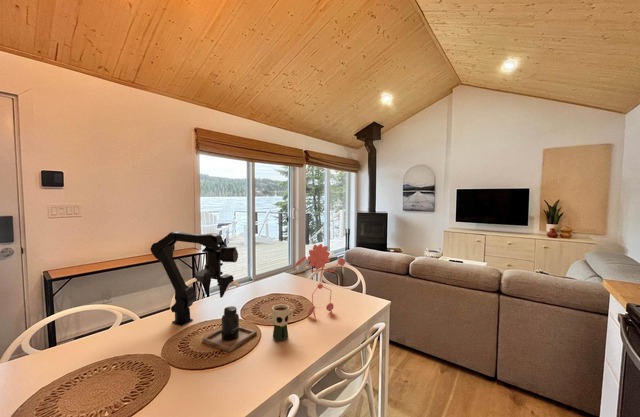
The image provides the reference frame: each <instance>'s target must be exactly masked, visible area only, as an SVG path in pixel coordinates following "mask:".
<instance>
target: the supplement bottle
mask: <svg viewBox="0 0 640 417" xmlns="http://www.w3.org/2000/svg"><path fill="white" fill-rule="evenodd" d="M237 312H238V311H237V307H236V306H226V307H224V309H223V314H222V316H221V325H220V326H221V328H220V329H221V337H222V339H223V340H225V341H232V340H235V339H236V338H238V336H239V326H240V315H239V314H238V313H237Z"/></svg>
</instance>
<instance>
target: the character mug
mask: <svg viewBox="0 0 640 417" xmlns="http://www.w3.org/2000/svg"><path fill="white" fill-rule="evenodd" d="M293 317H294V309H290V306H289V305H288V304H275V305H273V306H272V307H271V313H268V314H267V322H268V323H272V325H274V326H273V332H272V339H273V340H274V341H276V342H282V341H283V340H284V341H286V340H287V339H288V338H289V331H288V326H287V325H288V324H289V322H290V318H291V319H292V318H293Z"/></svg>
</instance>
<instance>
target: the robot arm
mask: <svg viewBox="0 0 640 417" xmlns="http://www.w3.org/2000/svg"><path fill="white" fill-rule="evenodd" d="M177 242H181V243H182V242H185V243H192V244H198V245H201V246H203V247H204V248H203V249H202V250H201V252H203V253H206V264H205V265H204V268H203V269H201V270H199V271H196V273H195V274H194V279H196V281H197V282H199V283H201V285H202V287H203V290H204V292H205V295H208V294H209V293H210V289H211V288H210V286H211V282H212V280H216V281H217V284H216V285H217V287H219V297H220V298H224V295H225V293H226V290H227V288H228V287H229V285H231V283H234V276H233V275H231V274H227V273H226V274H224V272H223V271H222V269H221V268H222V266H223V265H224V263H237V261H238V258H239V253H238V250H237V246H228V245H227V244H226V242H225V241H224V239H223V237H222V235H221V233H218V232H214V233H213V232H212V233H205V234H201V233H194V232H193V233H191V232H184V231H178V230H176V231H171V232H169V233H168V234H167V235H166V236H164V237H163V238H161V239H160V240H158V241H157V242H154V243H152V245H151V247H150V253H151V254H152V255H153V257H154V258H155V259H156V260H158V262H160V263H161V264H162V266H163V269H164V271H165V273H166V275H167V277H168V279H169V282H170V283H171V285H172V287H173V289H174V301H175V303H174V304H173V305H172V306H171V307H170V310H171V312H172V313H174V320H173V321H171V324H174V325H176V326H179V327H181V326H184V325H186V324H188V323H191V322H192V321H194V319H193V318H191V309H190V307H191V306H192V305H193V303H194V302H195V301H196V298H197V292H196V291H195V288H194V286H192V285H191V286H190V287H189V286H188V285H187V284H186V282H185V281H184V278H183V276H182V274H181V271H180V270H179V267H178V266H177V264H176V262H175V259H174V256H173V255H174V254H173V253H174V250H173V246H174V245H176V243H177ZM223 274H224V275H223Z"/></svg>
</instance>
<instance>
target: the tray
mask: <svg viewBox="0 0 640 417" xmlns="http://www.w3.org/2000/svg"><path fill="white" fill-rule="evenodd" d="M255 335H256V336H257V331H256V330H253V329H250V328H246V327H244V326H240V325H239V336H238V338H236V339H235V340H232V341H225V340H223V339H222V337H221V328H219V329H217V330H215V331H214V332H211V333H210V334H208V335H206V336H204V337H203V338H201V340H202V341H201V342H202V343H203V342H204V343H203V344H206V343H207V345H208V344H209V346H211V345H212V347H213V348H216V347H217V349H219V350H221V351H225V352H227V353H231V352H233V351H235V350H236V349H238V348H239V347H240V345H241V346H242V345H244V344H245V343H247V342H248V341H249V339H250V338H251V339H252V337H253V336H254V337H256V336H255ZM254 337H253V338H254ZM251 339H250V340H251ZM247 340H248V341H247ZM246 341H247V342H246ZM244 342H245V343H244ZM243 343H244V344H243ZM237 347H238V348H237Z"/></svg>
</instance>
